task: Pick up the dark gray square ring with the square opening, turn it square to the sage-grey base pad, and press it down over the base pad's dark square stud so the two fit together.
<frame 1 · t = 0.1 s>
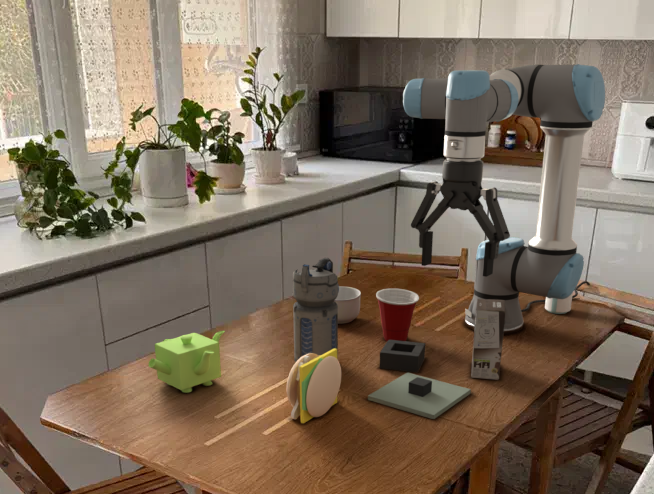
hand: (456, 269, 155), 28 cm above the table, tool pointing down, fingers open, 13 cm apart
dark gray square ring: (402, 363, 184), on the table
beverage bottle: (317, 364, 184), on the table
coffee box: (485, 372, 180), on the table
base pad: (419, 396, 167), on the table
teacup: (335, 319, 214), on the table
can: (557, 311, 221), on the table
plastic cup: (396, 340, 199), on the table
hamburger: (313, 411, 161), on the table
kettle: (192, 384, 173), on the table
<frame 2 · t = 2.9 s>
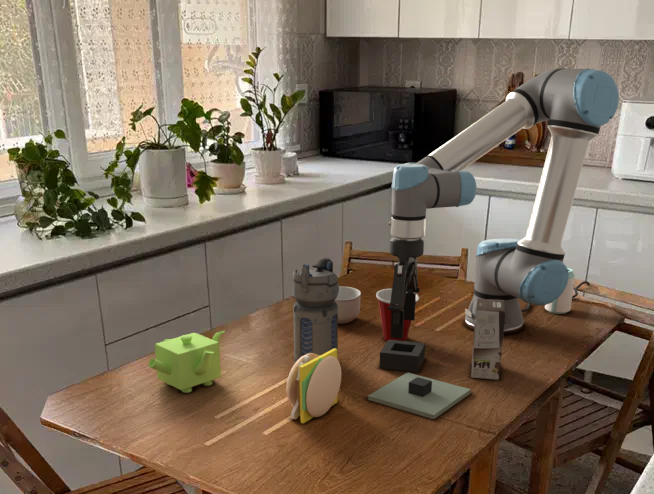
hand: (402, 328, 181), 9 cm above the table, tool pointing down, fingers open, 13 cm apart
nothing on the table moved.
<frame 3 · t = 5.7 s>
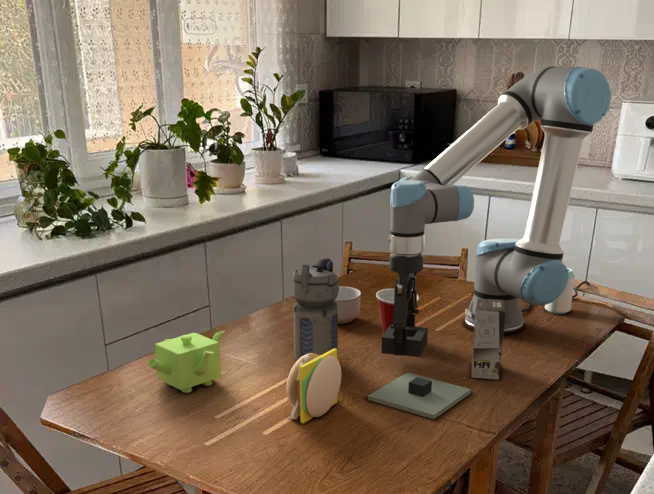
hand: (404, 347, 183), 4 cm above the table, tool pointing down, fingers closed on dark gray square ring, 9 cm apart
dark gray square ring: (404, 348, 183), point 4 cm above the table, touching gripper
everything else where it was.
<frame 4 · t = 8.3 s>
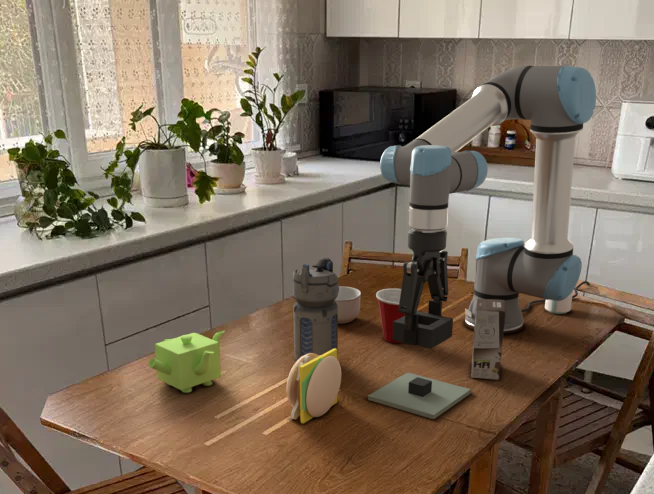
hand: (422, 337, 161), 13 cm above the table, tool pointing down, fingers closed on dark gray square ring, 9 cm apart
dark gray square ring: (422, 338, 162), point 13 cm above the table, touching gripper
everything else where it was.
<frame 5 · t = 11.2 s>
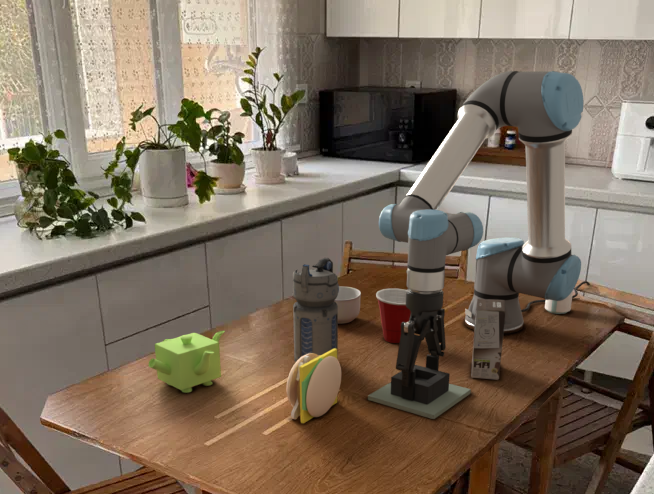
hand: (419, 391, 166), 1 cm above the table, tool pointing down, fingers closed on dark gray square ring, 9 cm apart
dark gray square ring: (419, 392, 166), point 1 cm above the table, touching base pad, gripper
everything else where it was.
when the fingers open (1 cm above the table, at t = 11.5 s): dark gray square ring stays where it is, resting on base pad.
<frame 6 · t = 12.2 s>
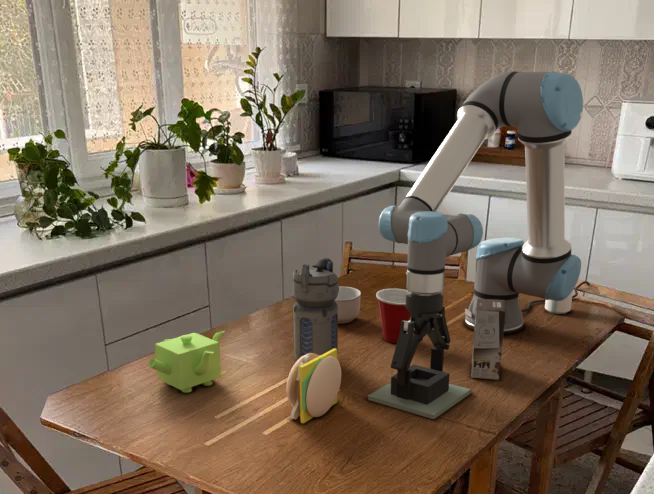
hand: (420, 387, 166), 2 cm above the table, tool pointing down, fingers open, 13 cm apart
dark gray square ring: (419, 392, 166), point 1 cm above the table, touching base pad
everything else where it was.
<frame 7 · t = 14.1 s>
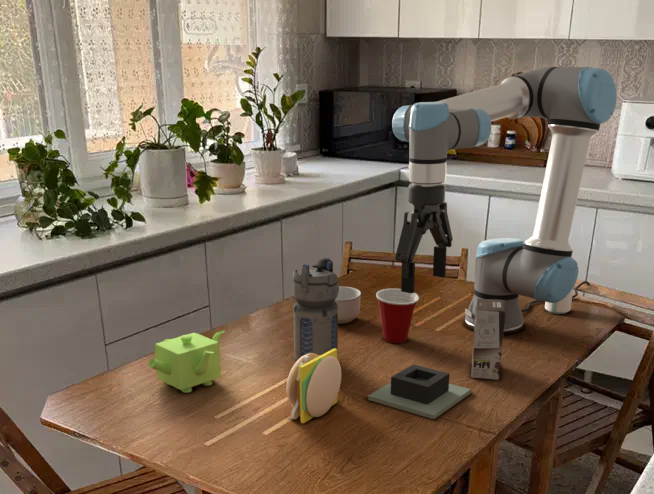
hand: (423, 284, 168), 22 cm above the table, tool pointing down, fingers open, 13 cm apart
nothing on the table moved.
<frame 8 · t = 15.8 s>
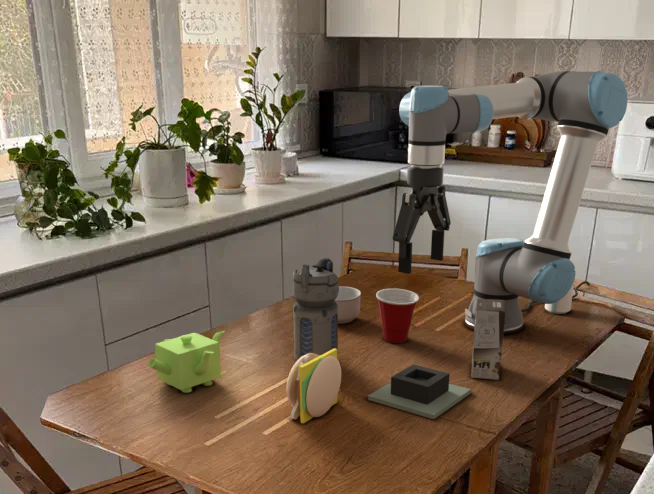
hand: (421, 266, 170), 25 cm above the table, tool pointing down, fingers open, 13 cm apart
nothing on the table moved.
at the end: dark gray square ring 0.1 cm off-centre on the base pad, point 1.0 cm above the base pad's base; dark gray square ring tilted 0°; the gripper is holding nothing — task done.
